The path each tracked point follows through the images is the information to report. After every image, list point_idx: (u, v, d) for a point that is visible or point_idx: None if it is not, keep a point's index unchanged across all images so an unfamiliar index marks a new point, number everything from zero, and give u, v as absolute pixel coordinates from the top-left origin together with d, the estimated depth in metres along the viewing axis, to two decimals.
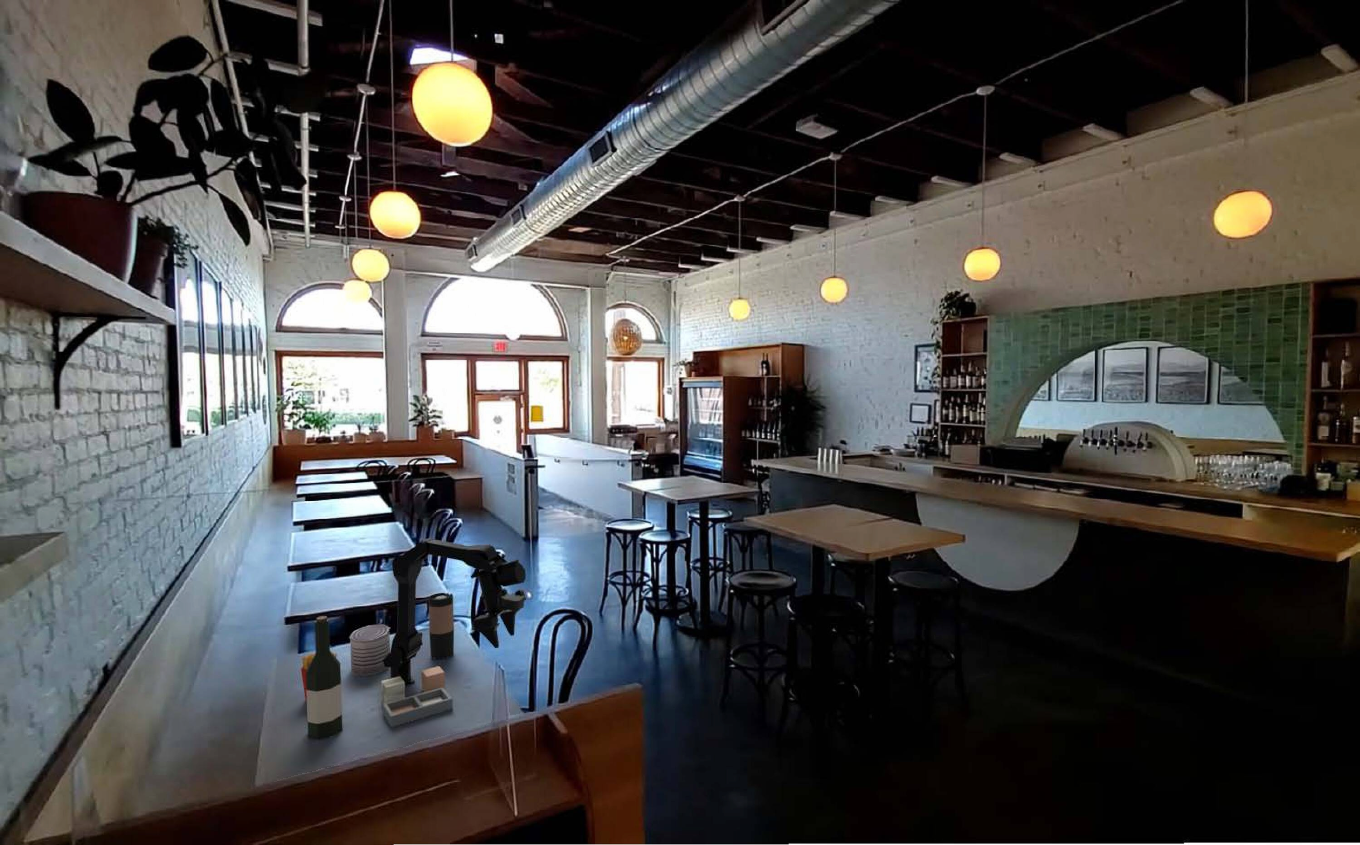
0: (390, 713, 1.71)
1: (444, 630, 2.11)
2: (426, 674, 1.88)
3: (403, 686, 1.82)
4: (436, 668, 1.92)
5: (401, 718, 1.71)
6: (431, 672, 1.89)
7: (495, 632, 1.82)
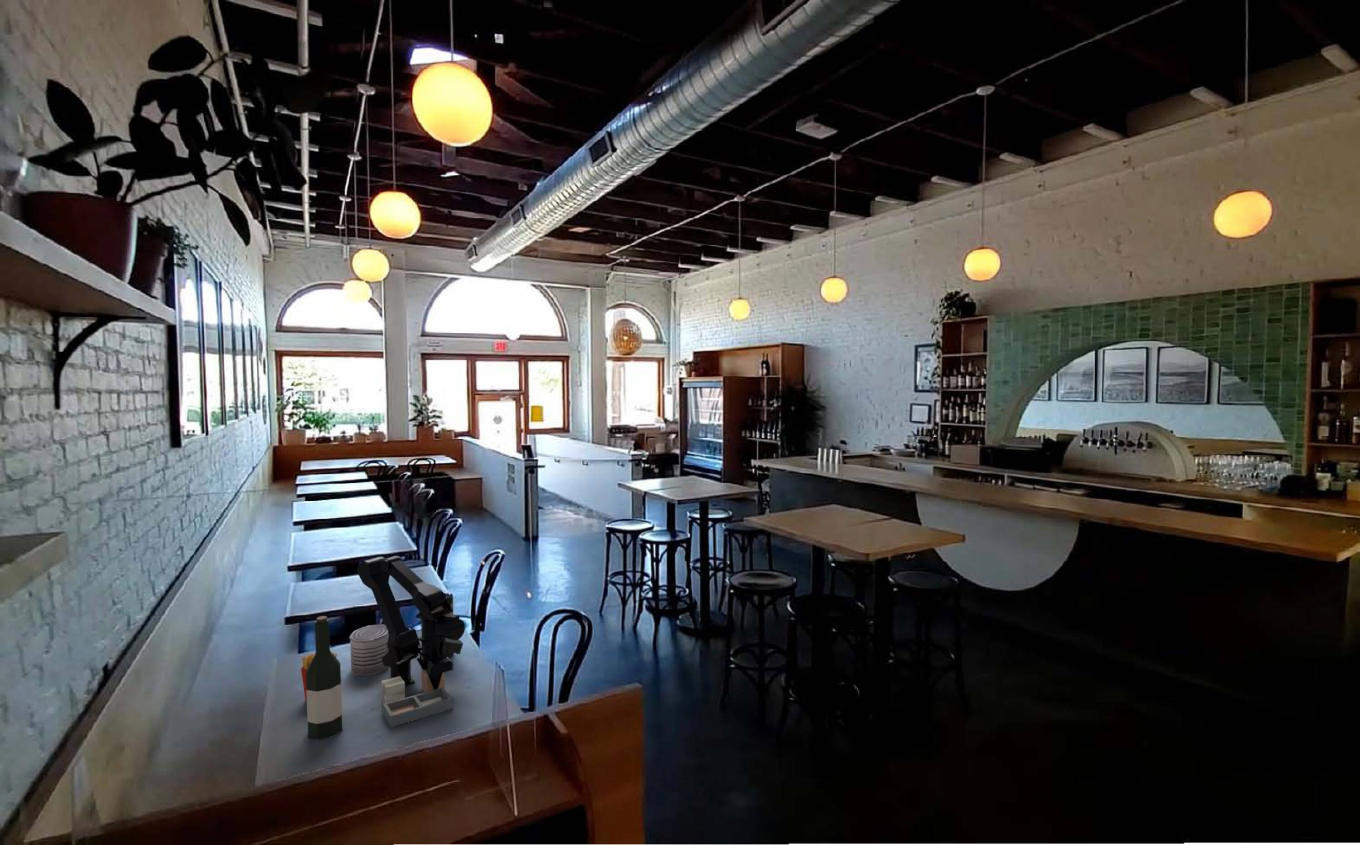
0: (390, 713, 1.71)
1: None
2: (426, 674, 1.88)
3: (403, 686, 1.82)
4: None
5: (401, 718, 1.71)
6: None
7: None
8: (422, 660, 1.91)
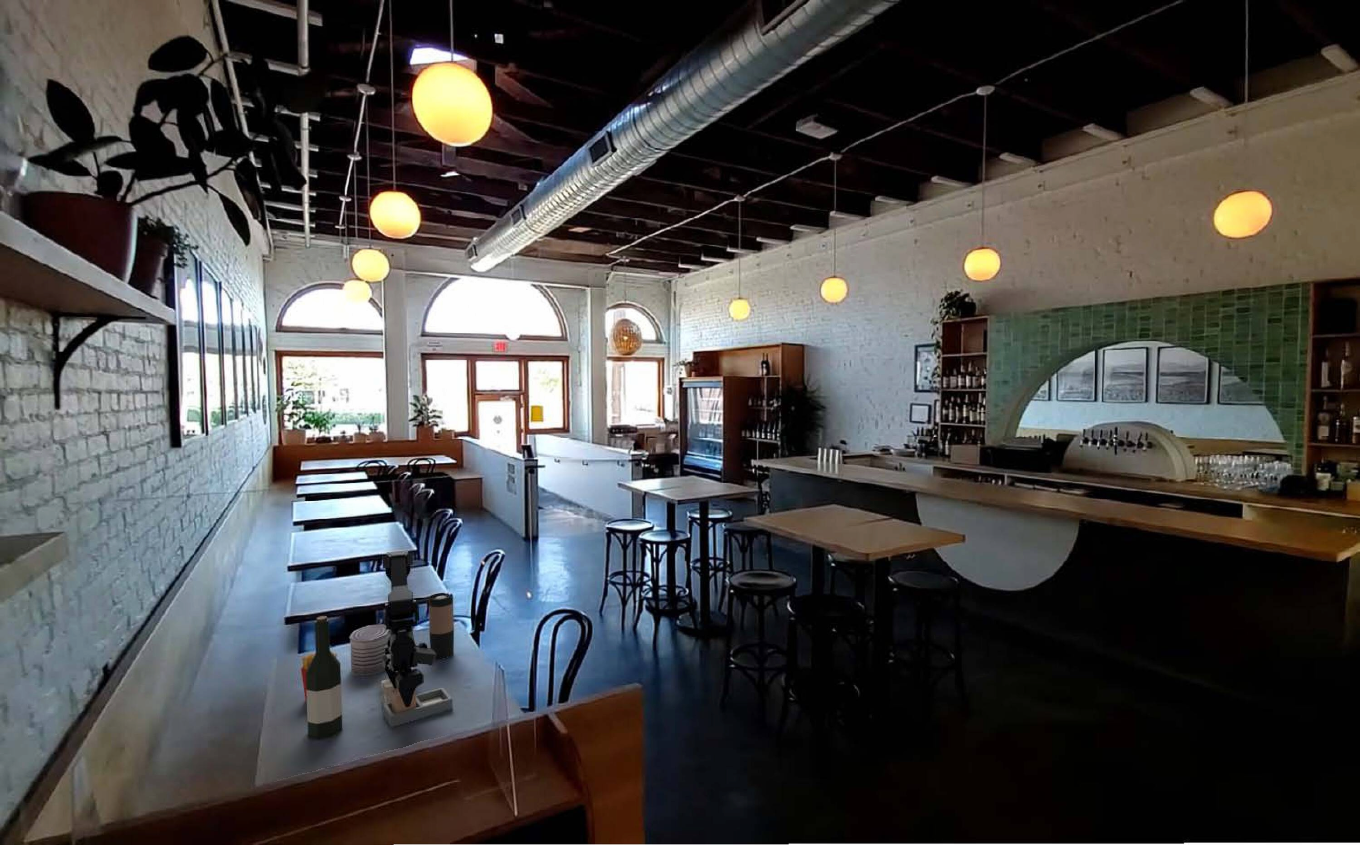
0: (390, 713, 1.71)
1: (444, 630, 2.11)
2: (396, 694, 1.73)
3: None
4: None
5: (401, 718, 1.71)
6: None
7: None
8: (390, 669, 1.78)
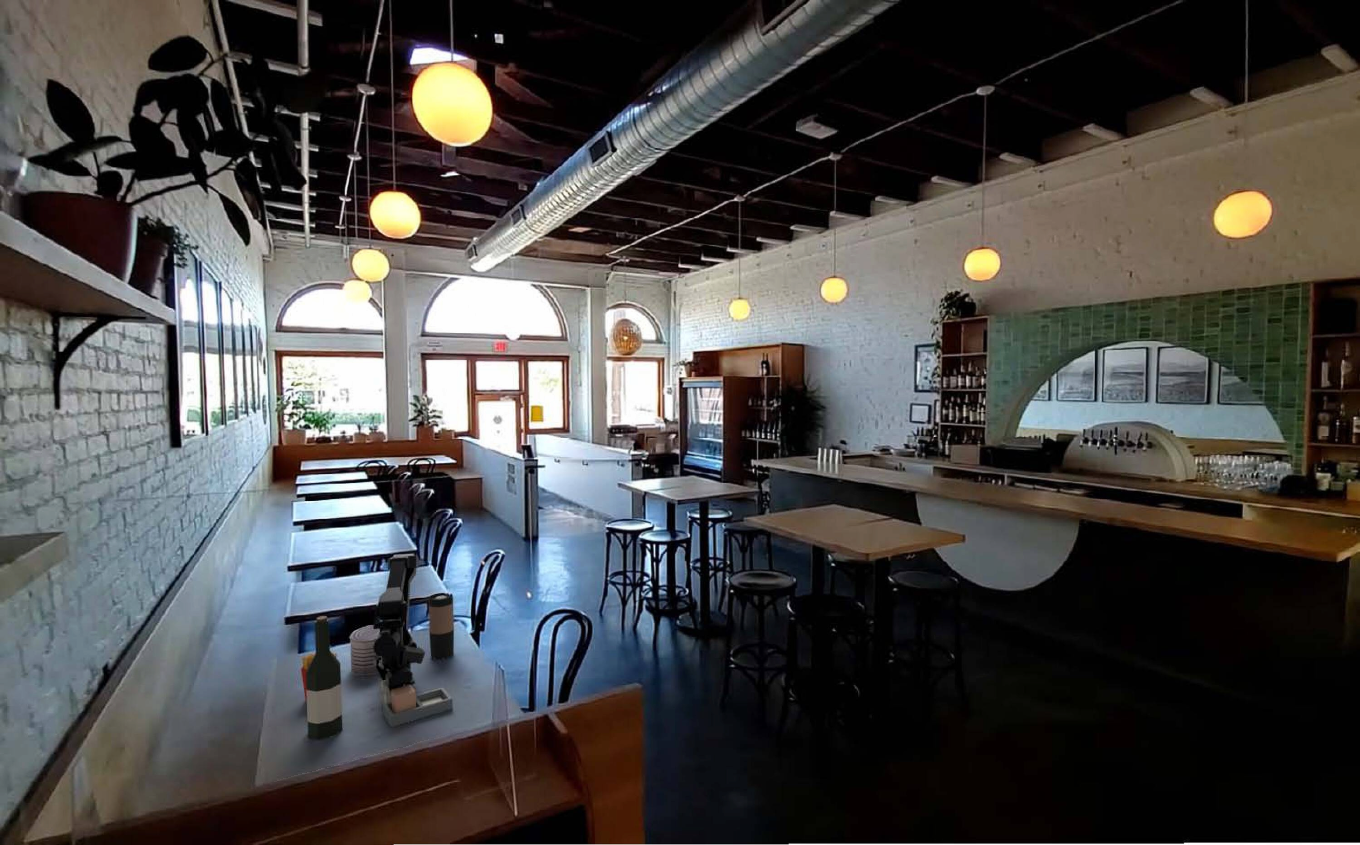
0: (390, 713, 1.71)
1: (444, 630, 2.11)
2: (396, 694, 1.73)
3: None
4: (407, 687, 1.77)
5: (401, 718, 1.71)
6: (401, 691, 1.75)
7: None
8: (381, 668, 1.85)
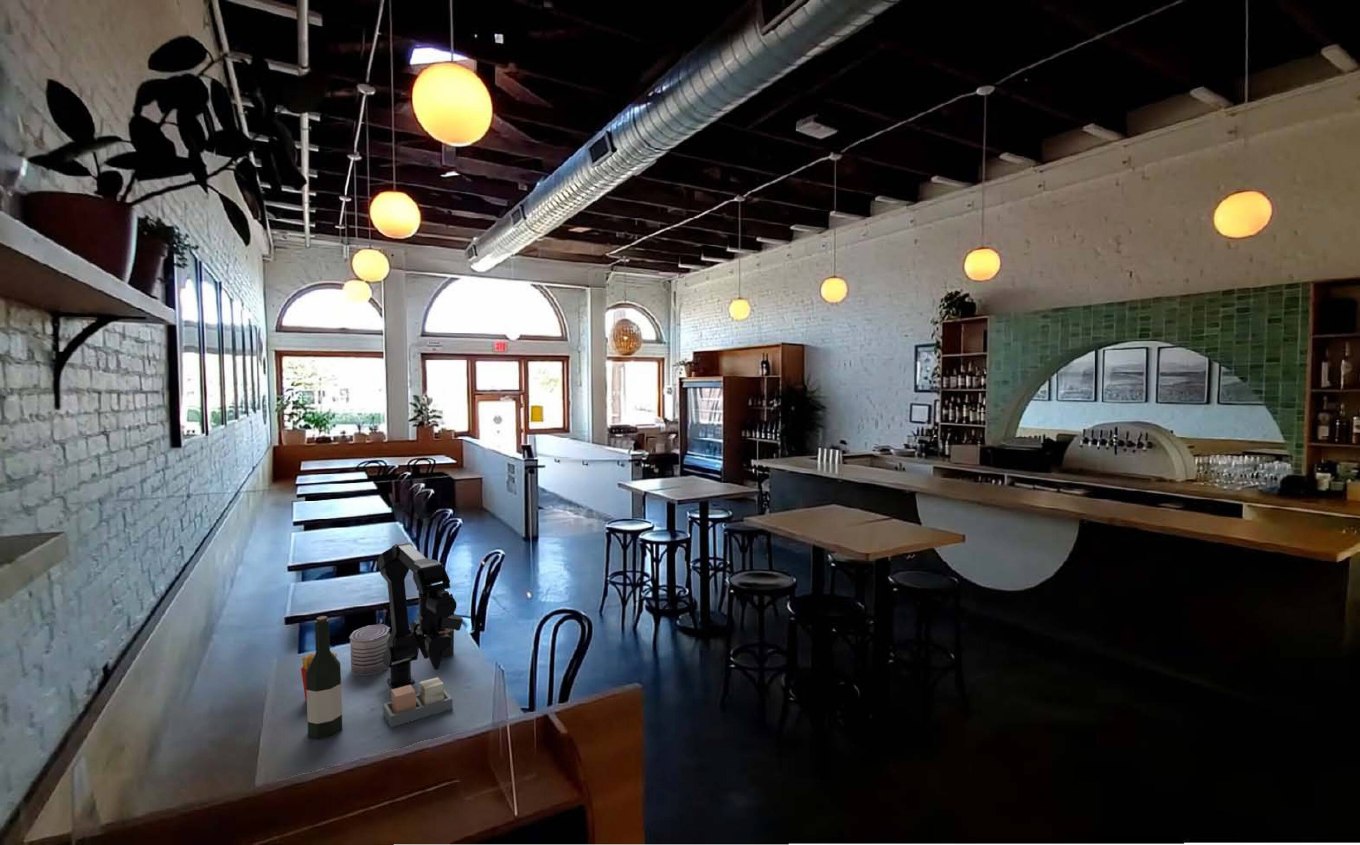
0: (390, 713, 1.71)
1: None
2: (396, 694, 1.73)
3: (442, 687, 1.79)
4: (407, 687, 1.77)
5: (401, 718, 1.71)
6: (401, 691, 1.75)
7: None
8: (418, 635, 1.82)
